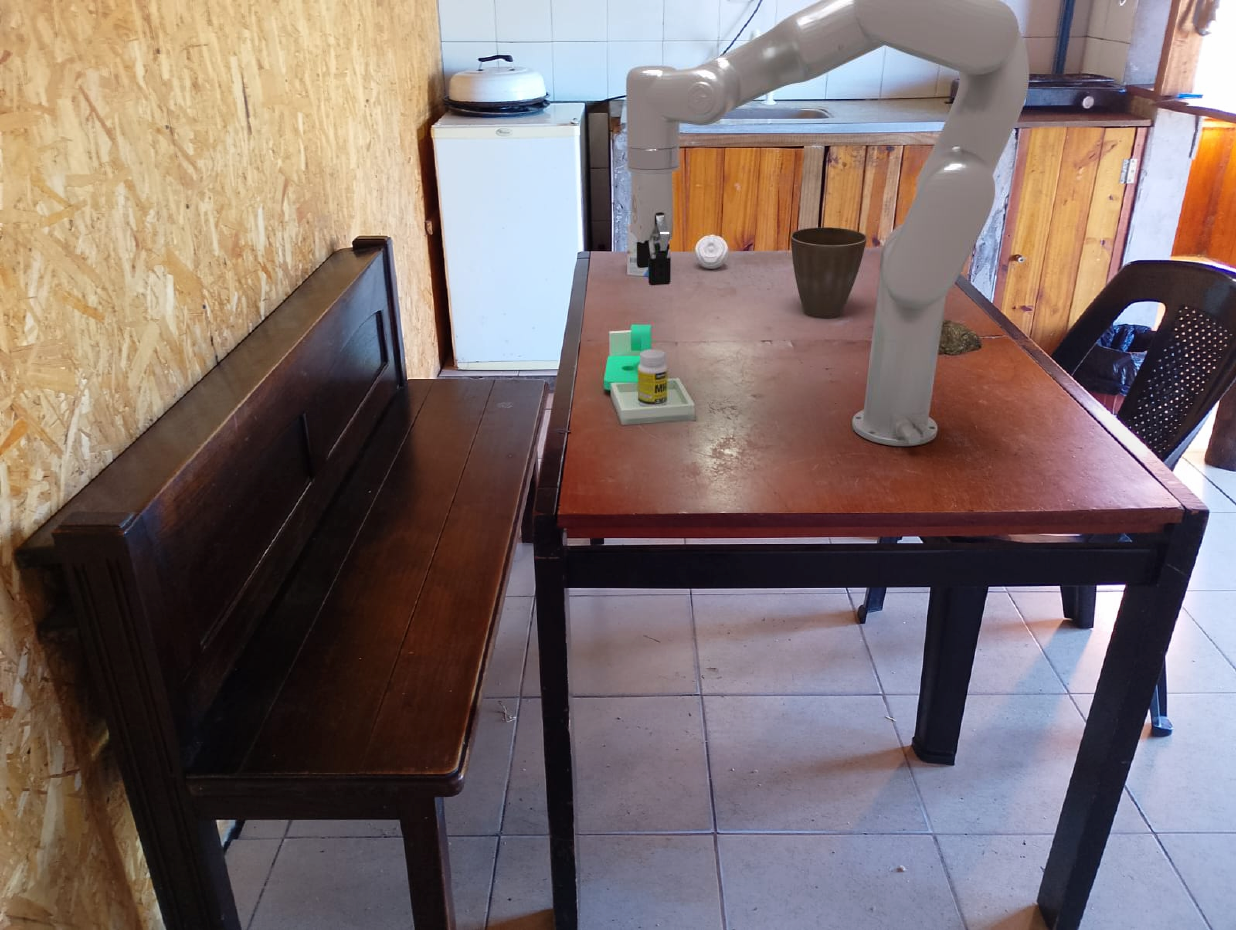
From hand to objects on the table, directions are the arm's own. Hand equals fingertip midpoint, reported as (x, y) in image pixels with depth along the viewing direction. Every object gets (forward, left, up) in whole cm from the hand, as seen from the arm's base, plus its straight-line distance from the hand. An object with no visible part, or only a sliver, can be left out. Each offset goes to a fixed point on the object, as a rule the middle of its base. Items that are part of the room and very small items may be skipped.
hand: (653, 275), depth 147 cm
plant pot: (+42, -44, -22) cm, 65 cm away
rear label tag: (+18, +1, -22) cm, 28 cm away
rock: (+20, -59, -23) cm, 67 cm away
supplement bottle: (0, 0, -21) cm, 21 cm away
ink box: (+78, -14, -22) cm, 82 cm away
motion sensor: (+80, -30, -22) cm, 88 cm away
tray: (0, 0, -22) cm, 22 cm away
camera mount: (+11, +2, -22) cm, 25 cm away
